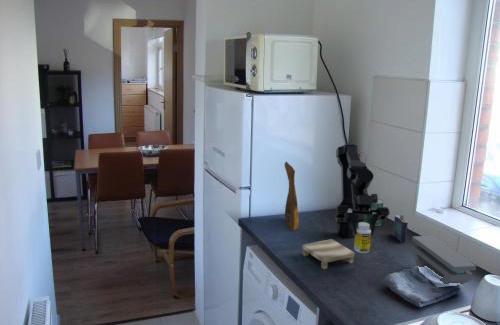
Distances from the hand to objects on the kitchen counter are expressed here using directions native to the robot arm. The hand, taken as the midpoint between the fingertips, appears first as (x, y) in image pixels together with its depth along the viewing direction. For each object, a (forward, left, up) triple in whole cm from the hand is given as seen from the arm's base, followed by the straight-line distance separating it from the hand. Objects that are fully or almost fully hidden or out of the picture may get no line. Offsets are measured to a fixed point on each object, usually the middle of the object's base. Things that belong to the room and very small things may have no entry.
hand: (363, 234), depth 161 cm
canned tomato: (-35, +37, -13) cm, 53 cm away
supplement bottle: (-1, +1, -7) cm, 7 cm away
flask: (-16, +35, -13) cm, 41 cm away
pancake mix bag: (-48, 0, -13) cm, 50 cm away
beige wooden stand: (-12, -6, -13) cm, 19 cm away
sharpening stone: (+17, +20, -13) cm, 30 cm away
